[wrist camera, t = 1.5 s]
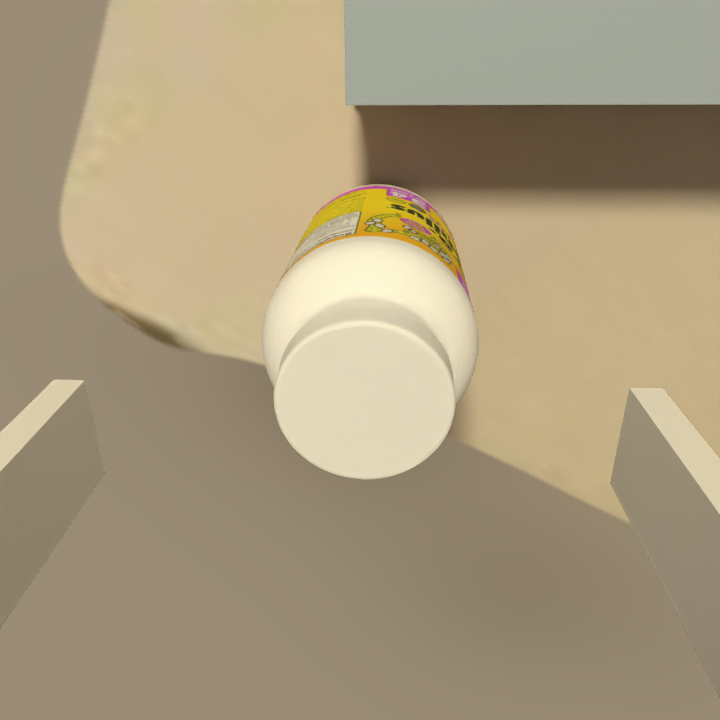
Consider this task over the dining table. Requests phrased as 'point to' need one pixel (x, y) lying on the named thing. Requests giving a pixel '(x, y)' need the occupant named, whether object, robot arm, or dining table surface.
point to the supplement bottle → (370, 334)
